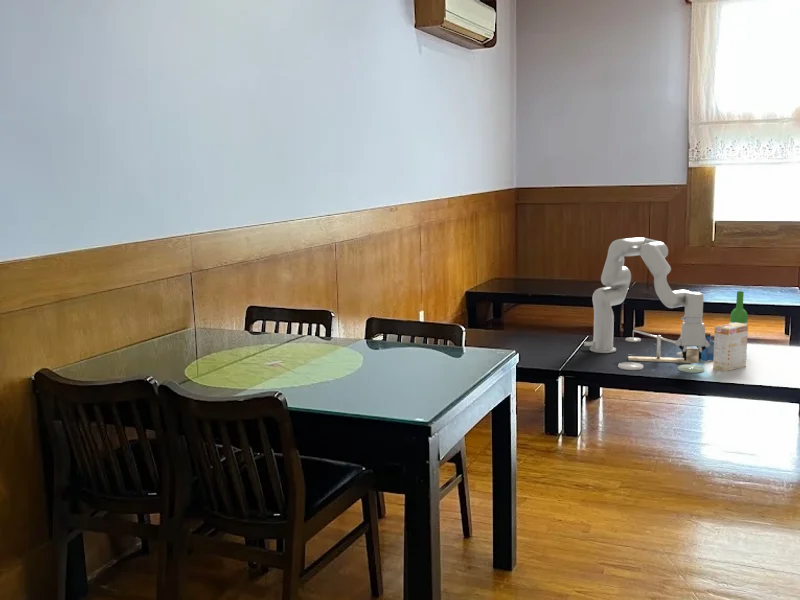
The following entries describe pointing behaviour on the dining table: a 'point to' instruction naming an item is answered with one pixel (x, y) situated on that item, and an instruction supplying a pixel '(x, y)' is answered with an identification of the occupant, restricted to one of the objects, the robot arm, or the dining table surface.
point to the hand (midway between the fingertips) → (691, 359)
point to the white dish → (630, 366)
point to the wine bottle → (739, 311)
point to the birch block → (692, 355)
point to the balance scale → (658, 358)
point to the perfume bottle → (708, 349)
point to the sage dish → (691, 368)
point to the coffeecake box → (730, 346)
